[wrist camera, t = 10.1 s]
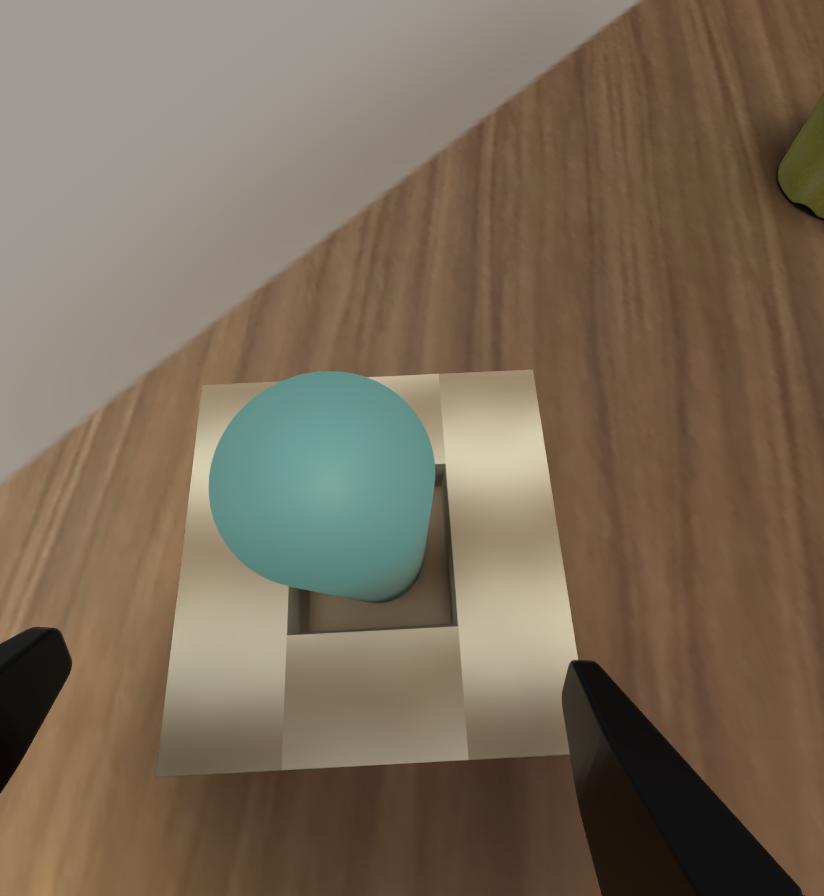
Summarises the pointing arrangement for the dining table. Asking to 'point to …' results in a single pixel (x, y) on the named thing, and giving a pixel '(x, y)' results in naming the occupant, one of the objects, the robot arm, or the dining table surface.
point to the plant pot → (806, 164)
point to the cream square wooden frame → (384, 613)
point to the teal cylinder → (326, 487)
